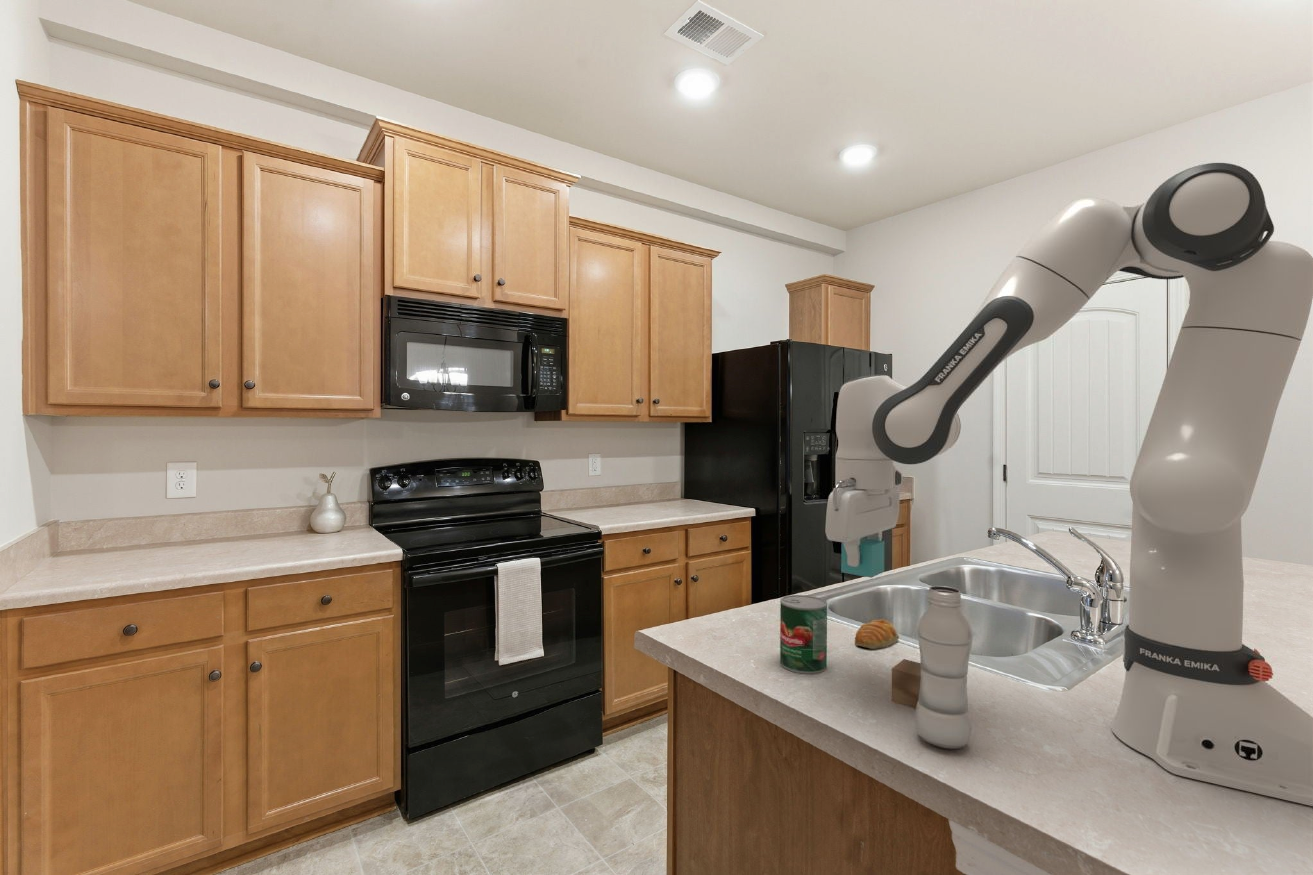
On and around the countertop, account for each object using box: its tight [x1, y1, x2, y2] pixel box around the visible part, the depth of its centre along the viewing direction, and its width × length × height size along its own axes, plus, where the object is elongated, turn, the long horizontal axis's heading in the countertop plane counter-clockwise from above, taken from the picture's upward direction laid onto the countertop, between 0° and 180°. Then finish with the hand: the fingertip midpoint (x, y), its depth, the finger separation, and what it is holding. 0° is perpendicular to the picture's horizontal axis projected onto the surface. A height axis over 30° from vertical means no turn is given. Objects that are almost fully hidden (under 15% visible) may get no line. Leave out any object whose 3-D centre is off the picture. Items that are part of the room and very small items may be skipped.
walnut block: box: [890, 658, 921, 709], centre depth 91 cm, size 5×5×5 cm
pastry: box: [854, 618, 900, 650], centre depth 116 cm, size 9×7×4 cm
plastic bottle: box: [914, 585, 974, 750], centre depth 79 cm, size 6×7×20 cm
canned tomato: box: [779, 594, 828, 675], centre depth 105 cm, size 8×8×11 cm
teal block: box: [840, 537, 885, 578], centre depth 98 cm, size 5×5×5 cm
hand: (863, 562), depth 98 cm, fingers closed on teal block, 5 cm apart
